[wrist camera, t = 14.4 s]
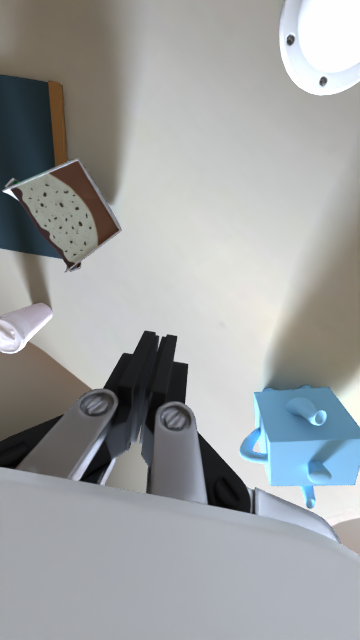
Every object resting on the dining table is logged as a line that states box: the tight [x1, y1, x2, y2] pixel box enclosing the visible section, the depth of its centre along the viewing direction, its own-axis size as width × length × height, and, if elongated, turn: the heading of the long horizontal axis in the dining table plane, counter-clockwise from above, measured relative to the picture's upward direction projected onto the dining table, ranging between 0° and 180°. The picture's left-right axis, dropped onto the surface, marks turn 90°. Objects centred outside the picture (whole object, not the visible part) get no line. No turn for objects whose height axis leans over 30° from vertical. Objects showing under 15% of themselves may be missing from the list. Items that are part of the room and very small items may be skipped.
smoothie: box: [0, 303, 52, 353], centre depth 36 cm, size 6×6×14 cm
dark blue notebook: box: [0, 74, 67, 259], centre depth 32 cm, size 22×14×1 cm, turn 171°
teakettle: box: [240, 385, 360, 508], centre depth 40 cm, size 19×19×15 cm
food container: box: [2, 157, 122, 272], centre depth 31 cm, size 12×6×10 cm
